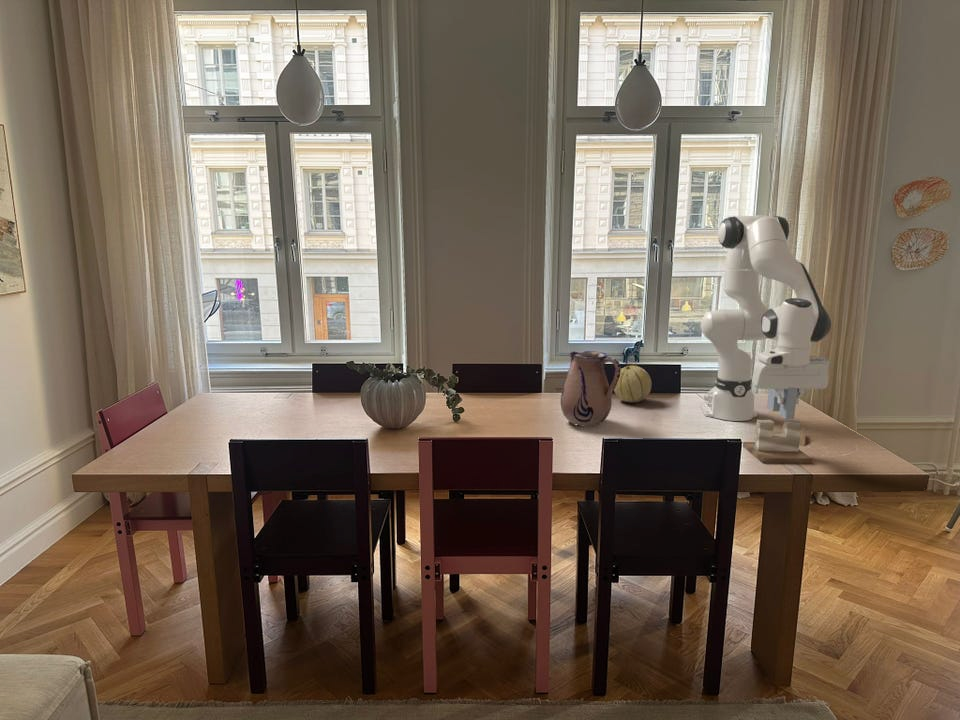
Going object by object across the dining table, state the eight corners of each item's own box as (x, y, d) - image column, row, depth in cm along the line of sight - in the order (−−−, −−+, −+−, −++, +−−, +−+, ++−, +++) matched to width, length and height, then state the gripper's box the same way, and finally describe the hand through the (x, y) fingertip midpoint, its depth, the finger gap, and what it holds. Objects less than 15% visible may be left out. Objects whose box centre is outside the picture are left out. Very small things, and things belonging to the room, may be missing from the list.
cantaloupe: (656, 401, 242) (659, 364, 239) (639, 409, 231) (641, 370, 228) (623, 395, 251) (625, 359, 248) (605, 402, 240) (606, 365, 237)
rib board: (742, 446, 190) (745, 414, 188) (788, 446, 189) (791, 414, 187) (762, 463, 176) (765, 428, 174) (811, 463, 176) (815, 428, 174)
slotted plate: (767, 407, 186) (769, 379, 184) (774, 407, 186) (777, 379, 184) (785, 419, 174) (788, 388, 172) (794, 419, 174) (797, 388, 172)
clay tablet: (770, 430, 207) (771, 423, 206) (803, 434, 202) (804, 427, 202) (769, 443, 194) (770, 435, 193) (805, 448, 190) (806, 440, 189)
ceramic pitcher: (570, 413, 225) (572, 347, 220) (626, 421, 215) (630, 352, 210) (552, 426, 211) (553, 355, 206) (611, 435, 200) (614, 361, 195)
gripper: (823, 354, 175) (818, 400, 178) (752, 354, 176) (748, 400, 179) (835, 358, 169) (830, 406, 172) (761, 358, 170) (757, 406, 172)
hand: (787, 403), depth 175 cm, fingers closed on slotted plate, 2 cm apart
